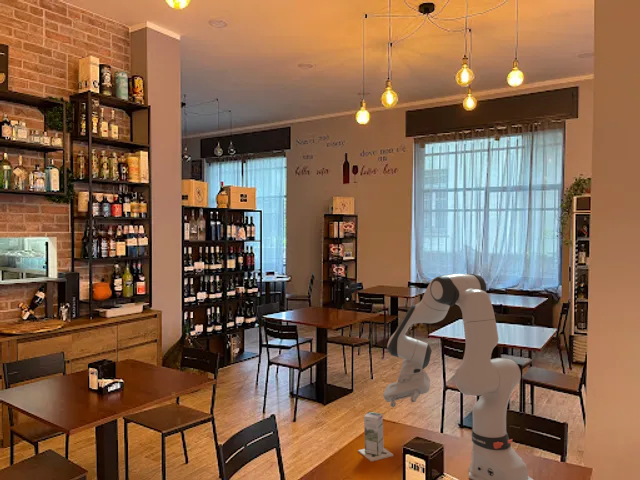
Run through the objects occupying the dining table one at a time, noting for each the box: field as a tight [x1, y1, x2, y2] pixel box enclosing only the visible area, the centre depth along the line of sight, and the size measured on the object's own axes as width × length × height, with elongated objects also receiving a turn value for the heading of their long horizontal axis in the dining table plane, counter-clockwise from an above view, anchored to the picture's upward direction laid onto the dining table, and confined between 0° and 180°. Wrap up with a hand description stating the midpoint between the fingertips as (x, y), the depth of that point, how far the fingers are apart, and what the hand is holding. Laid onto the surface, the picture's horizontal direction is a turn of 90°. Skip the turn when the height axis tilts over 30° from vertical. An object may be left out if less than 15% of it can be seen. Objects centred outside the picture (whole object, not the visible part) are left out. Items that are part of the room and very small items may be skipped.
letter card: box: [357, 447, 395, 463], centre depth 189 cm, size 10×10×1 cm
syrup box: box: [363, 411, 384, 456], centre depth 189 cm, size 6×6×14 cm
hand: (402, 403), depth 195 cm, fingers open, 8 cm apart
